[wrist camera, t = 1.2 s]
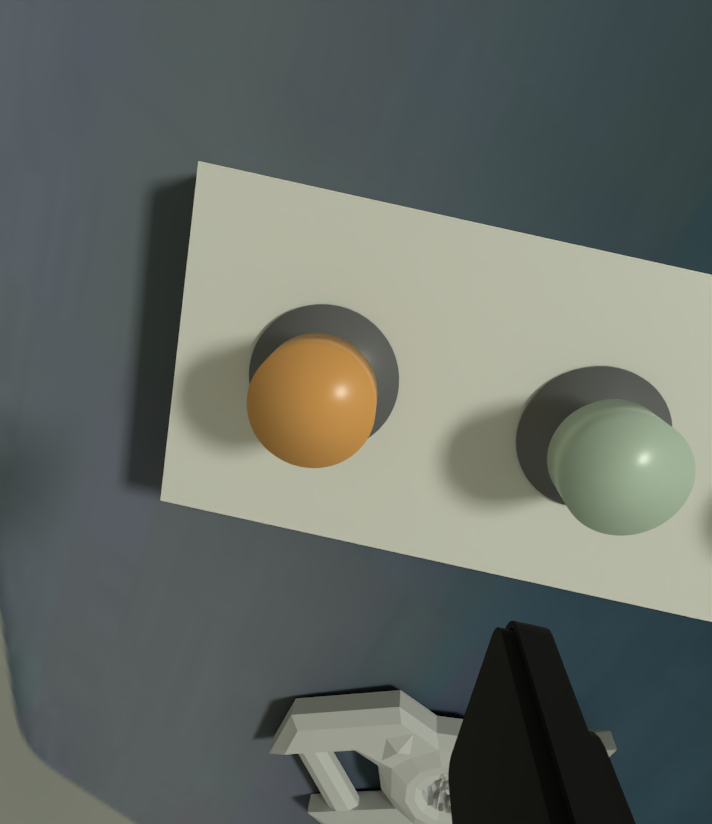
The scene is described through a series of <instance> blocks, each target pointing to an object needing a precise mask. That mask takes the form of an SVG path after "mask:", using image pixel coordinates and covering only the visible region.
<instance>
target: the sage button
mask: <svg viewBox="0 0 712 824" xmlns="http://www.w3.org/2000/svg"><path fill="white" fill-rule="evenodd" d="M547 467H548V472H549V475H550V478H551V480H552V482H553V484H554V486H555V487H556V489H557V491H558V492H559V494H560V496H561V497H562V499H563V501H564V502H565V504H566V506H567V508H568V509H569V511H570V512H571V513H572V515H573V516H574V517H575V518H576V519H577V520H578V521H579V522H581V523H582V524H583V525H585V526H586V527H588V528H590V529H592V530H594V531H597V532H600V533H603V534H608V535H616V536H625V535H634V534H639V533H643V532H646V531H649V530H651V529H654V528H656V527H658V526H660V525H661V524H663V523H665V522H666V521H667V520H669V519H670V518H671V517H672V516H674V515H675V514H676V513H677V512H678V511H679V510H680V508H681V507H682V506H683V505H684V503H685V502H686V500H687V499H688V497H689V495H690V493H691V490H692V488H693V485H694V480H695V472H696V467H695V459H694V455H693V452H692V450H691V448H690V446H689V444H688V443H687V441H686V440H685V438H684V437H683V436H682V435H681V434H680V433H679V432H678V431H676V430H675V429H674V428H673V427H671V426H670V425H669V424H667V423H666V422H665V421H663V420H662V419H661V418H659V417H658V416H657V415H655V414H654V413H653V412H652V411H650V410H649V409H647V408H646V407H644V406H642V405H640V404H637V403H635V402H631V401H628V400H621V399H609V400H601V401H597V402H593V403H590V404H588V405H585V406H583V407H581V408H579V409H578V410H576V411H575V412H573V413H572V414H571V415H569V416H568V417H567V418H566V419H565V420H564V421H563V422H562V423H561V424H560V425H559V427H558V428H557V429H556V431H555V433H554V434H553V436H552V439H551V441H550V444H549V447H548V452H547Z"/></svg>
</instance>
